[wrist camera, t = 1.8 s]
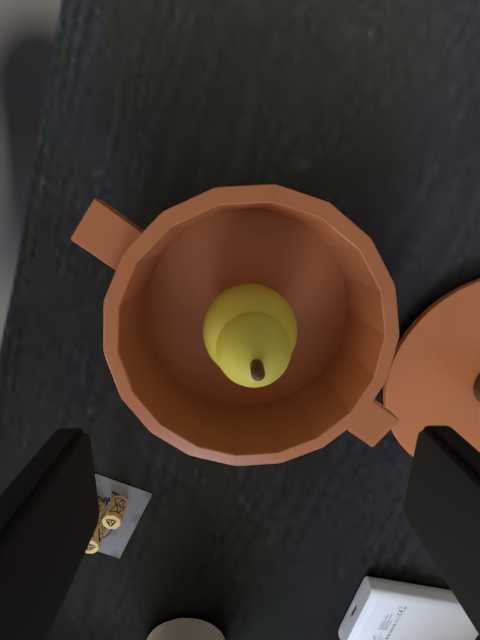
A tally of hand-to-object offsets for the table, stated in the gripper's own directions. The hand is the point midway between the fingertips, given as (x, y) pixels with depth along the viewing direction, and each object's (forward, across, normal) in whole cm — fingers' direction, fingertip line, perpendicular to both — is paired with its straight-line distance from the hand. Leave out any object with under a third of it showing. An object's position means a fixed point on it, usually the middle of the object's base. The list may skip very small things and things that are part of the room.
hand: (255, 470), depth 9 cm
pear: (+14, -1, -1) cm, 14 cm away
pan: (+14, -1, -1) cm, 14 cm away
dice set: (+15, +12, +17) cm, 26 cm away
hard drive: (+15, -18, +30) cm, 38 cm away
